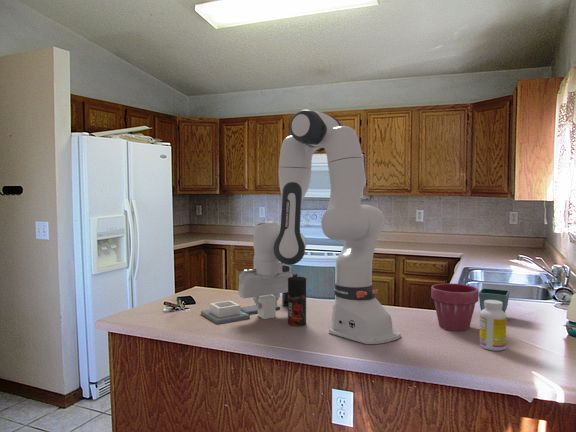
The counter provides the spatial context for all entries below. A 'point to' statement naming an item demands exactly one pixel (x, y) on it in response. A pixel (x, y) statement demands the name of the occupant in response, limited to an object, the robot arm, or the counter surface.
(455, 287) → the plant pot
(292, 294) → the deodorant
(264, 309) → the block
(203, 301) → the counter surface
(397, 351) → the counter surface
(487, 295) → the flower pot
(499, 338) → the supplement bottle
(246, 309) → the phone
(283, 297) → the supplement bottle
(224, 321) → the dock
